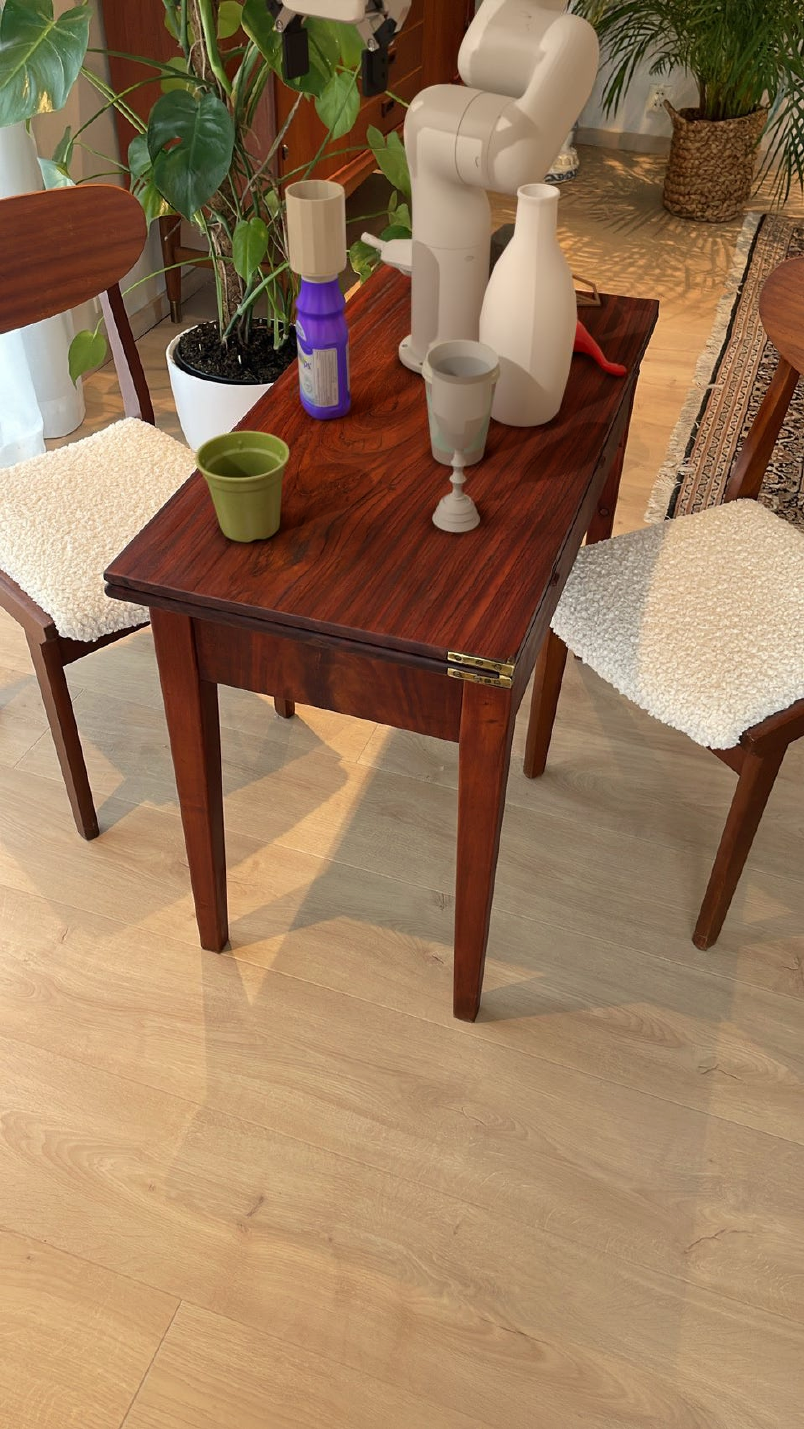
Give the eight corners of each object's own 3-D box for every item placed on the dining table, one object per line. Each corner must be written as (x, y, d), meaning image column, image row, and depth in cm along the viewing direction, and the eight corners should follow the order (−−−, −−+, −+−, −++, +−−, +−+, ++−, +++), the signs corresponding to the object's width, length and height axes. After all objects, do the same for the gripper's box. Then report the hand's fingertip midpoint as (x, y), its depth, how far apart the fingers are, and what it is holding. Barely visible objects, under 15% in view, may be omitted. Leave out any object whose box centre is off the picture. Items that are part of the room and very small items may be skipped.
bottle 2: (584, 404, 140) (611, 186, 123) (536, 442, 134) (557, 218, 116) (507, 378, 145) (522, 165, 128) (457, 414, 139) (465, 194, 121)
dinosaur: (507, 296, 151) (513, 342, 142) (619, 313, 152) (631, 359, 144) (501, 324, 154) (506, 371, 145) (611, 340, 155) (622, 388, 146)
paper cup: (314, 250, 131) (310, 176, 125) (357, 263, 128) (355, 188, 123) (278, 267, 127) (272, 192, 122) (322, 281, 124) (318, 205, 119)
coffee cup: (443, 427, 136) (446, 330, 128) (508, 447, 133) (515, 349, 125) (406, 460, 131) (406, 361, 123) (472, 481, 128) (478, 381, 120)
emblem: (511, 290, 164) (511, 285, 164) (557, 270, 170) (557, 266, 169) (577, 317, 158) (577, 312, 158) (622, 295, 163) (623, 290, 163)
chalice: (482, 541, 119) (492, 380, 107) (418, 534, 120) (420, 373, 108) (492, 503, 125) (503, 345, 112) (430, 496, 126) (434, 338, 113)
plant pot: (187, 540, 119) (176, 466, 114) (233, 494, 126) (225, 422, 120) (267, 562, 117) (260, 487, 111) (310, 514, 123) (305, 441, 117)
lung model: (543, 274, 161) (403, 236, 173) (485, 234, 146) (336, 196, 158) (527, 321, 162) (389, 281, 174) (467, 286, 148) (321, 244, 160)
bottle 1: (294, 399, 141) (284, 256, 129) (338, 391, 143) (333, 249, 131) (312, 427, 136) (304, 281, 124) (357, 418, 138) (353, 274, 126)
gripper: (434, -127, 99) (430, 92, 111) (281, -145, 107) (292, 62, 118) (381, -116, 95) (382, 111, 106) (225, -135, 102) (242, 79, 114)
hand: (335, 85), depth 112 cm, fingers open, 9 cm apart
